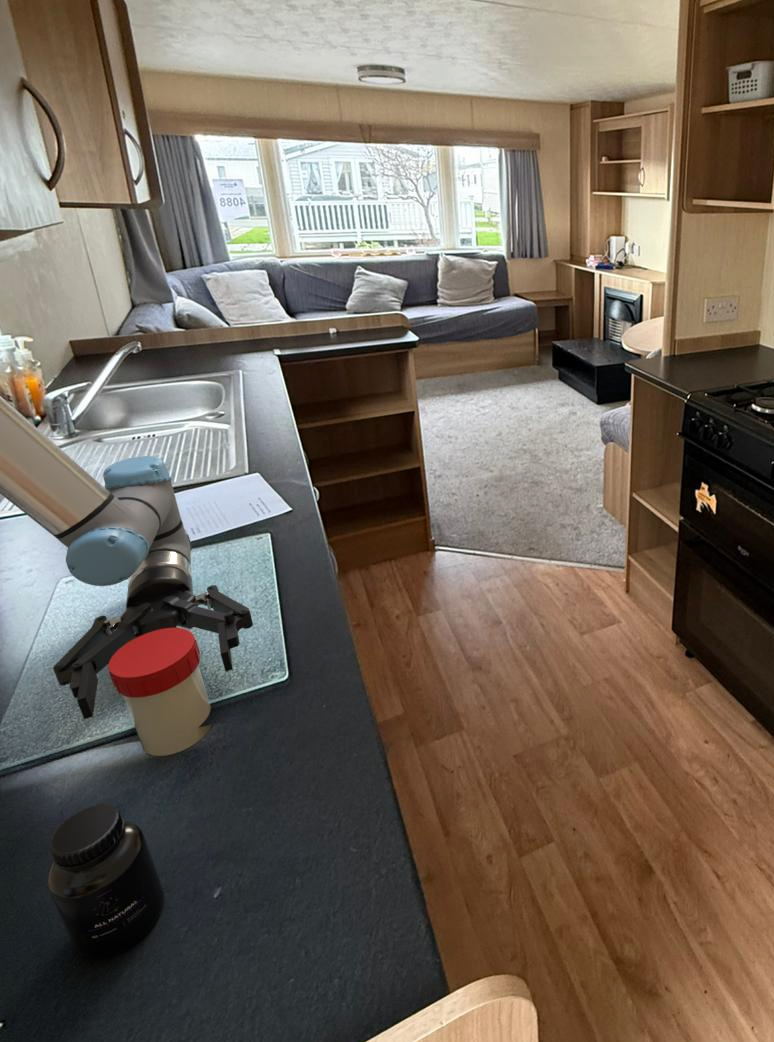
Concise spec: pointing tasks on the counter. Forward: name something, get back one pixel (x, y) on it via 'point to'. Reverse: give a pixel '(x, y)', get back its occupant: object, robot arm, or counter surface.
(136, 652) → the lid
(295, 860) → the counter surface
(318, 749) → the counter surface
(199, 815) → the counter surface
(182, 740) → the jar
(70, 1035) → the counter surface
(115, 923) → the supplement bottle
